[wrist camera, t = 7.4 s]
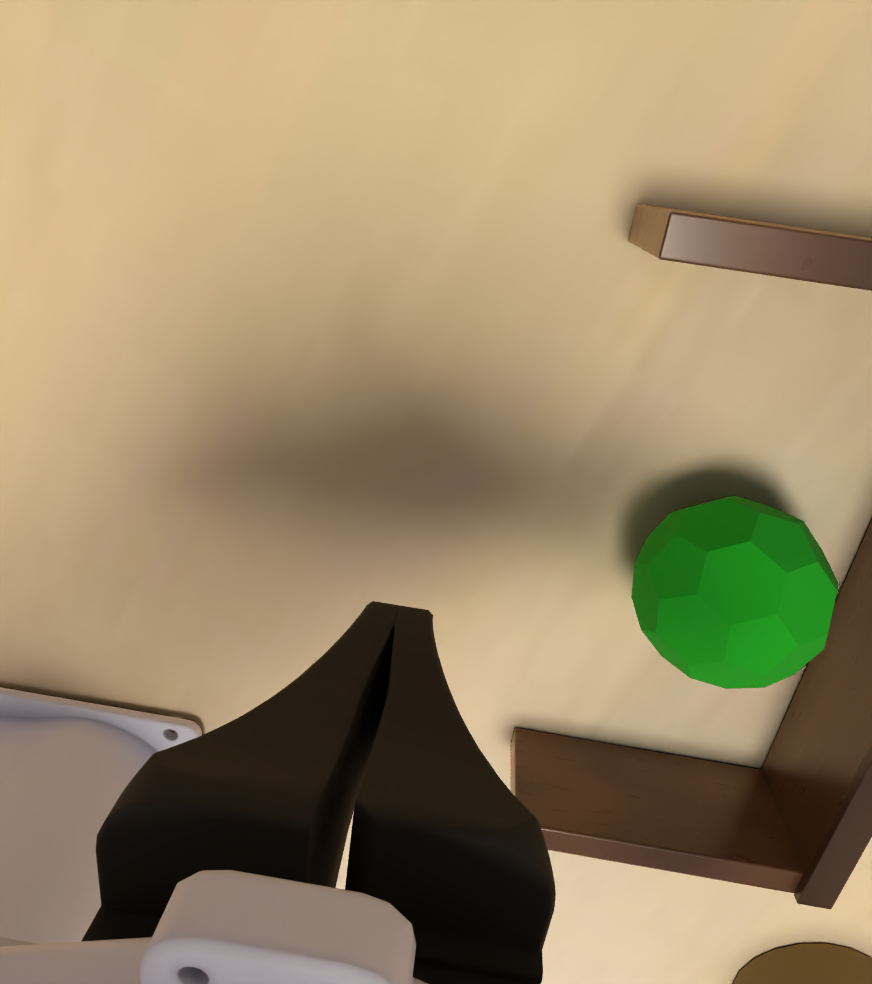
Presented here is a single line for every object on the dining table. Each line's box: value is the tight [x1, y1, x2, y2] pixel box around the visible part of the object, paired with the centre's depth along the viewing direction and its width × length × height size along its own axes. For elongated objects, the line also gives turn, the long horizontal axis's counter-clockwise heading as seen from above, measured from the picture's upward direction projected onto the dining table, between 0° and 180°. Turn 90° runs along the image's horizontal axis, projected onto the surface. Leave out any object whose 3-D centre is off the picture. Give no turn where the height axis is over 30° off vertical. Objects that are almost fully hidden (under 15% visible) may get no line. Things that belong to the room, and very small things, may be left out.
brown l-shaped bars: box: [511, 204, 872, 909], centre depth 19 cm, size 10×18×4 cm, turn 173°
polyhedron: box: [632, 495, 838, 688], centre depth 19 cm, size 5×5×5 cm
